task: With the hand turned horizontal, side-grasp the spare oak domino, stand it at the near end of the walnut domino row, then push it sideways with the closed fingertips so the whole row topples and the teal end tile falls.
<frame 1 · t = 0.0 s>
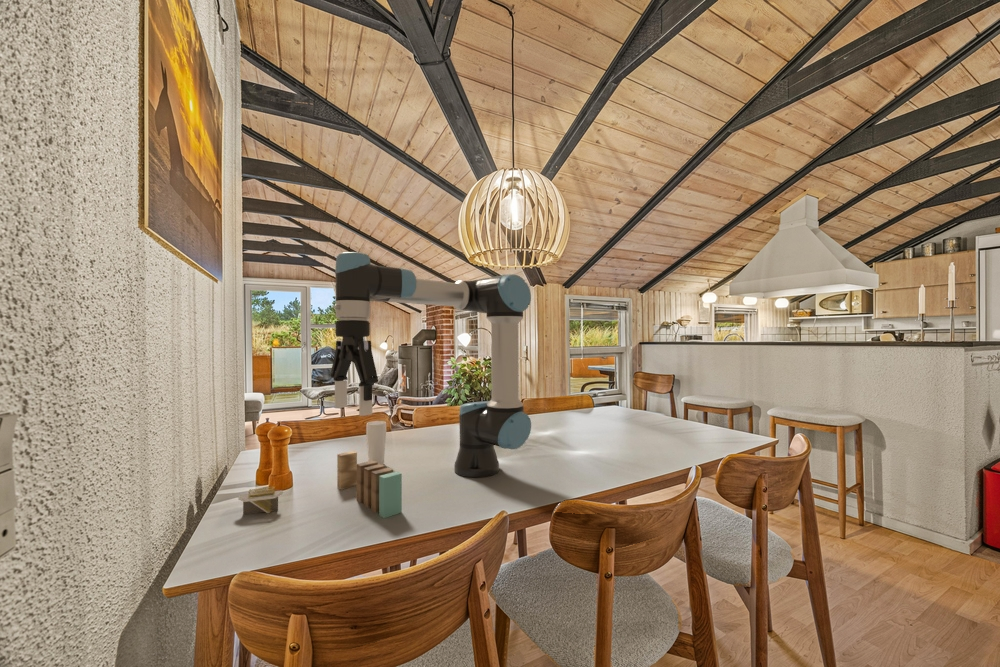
hand: (352, 411, 94), 28 cm above the table, tool pointing down, fingers open, 13 cm apart
domino 1: (347, 486, 123), on the table
domino 5: (390, 513, 104), on the table
platform: (260, 515, 104), on the table
domino 3: (374, 503, 110), on the table
domino 2: (367, 499, 113), on the table
domino 4: (382, 508, 107), on the table
drinking glass: (376, 465, 143), on the table
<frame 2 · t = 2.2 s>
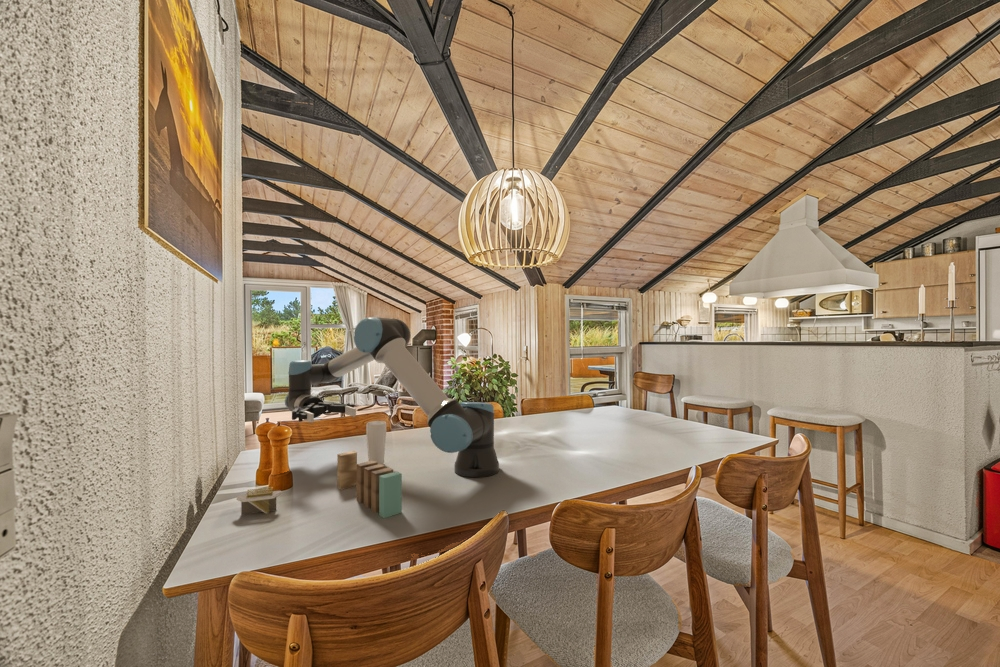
hand: (334, 415, 129), 20 cm above the table, tool horizontal, fingers open, 13 cm apart
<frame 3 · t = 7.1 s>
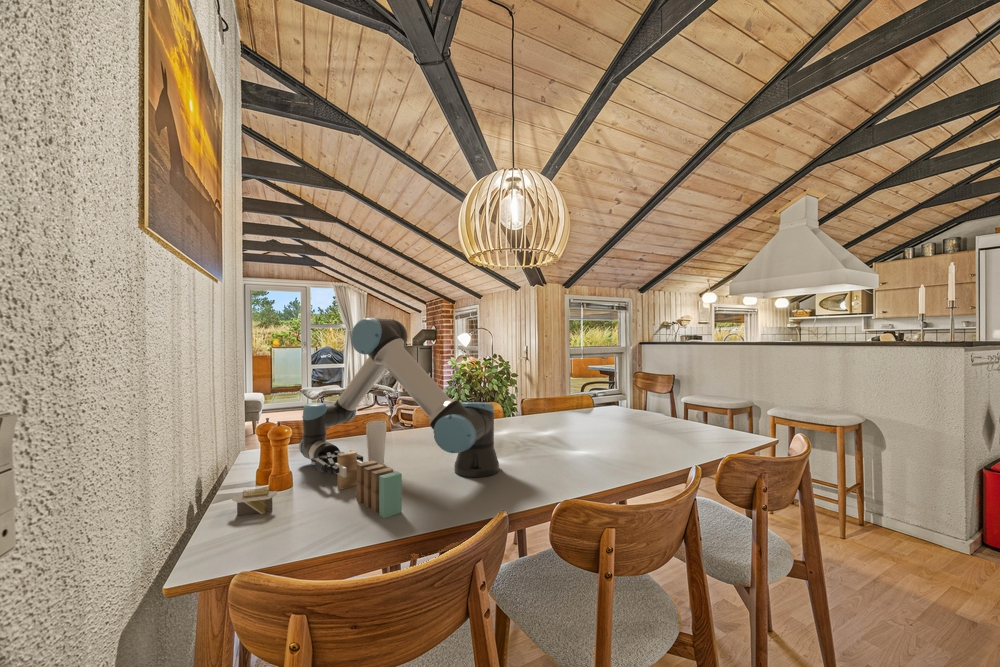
hand: (354, 470, 119), 6 cm above the table, tool horizontal, fingers closed on domino 1, 5 cm apart
domino 1: (347, 486, 123), on the table, touching gripper
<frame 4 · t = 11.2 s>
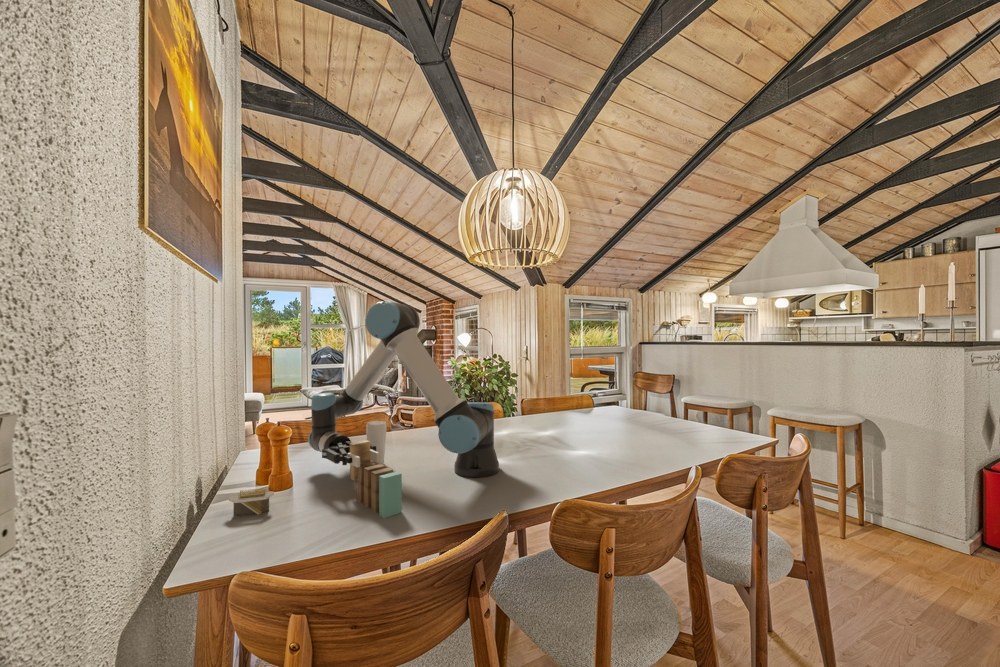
hand: (368, 459, 113), 11 cm above the table, tool horizontal, fingers closed on domino 1, 5 cm apart
domino 1: (360, 477, 116), point 5 cm above the table, touching gripper
domino 2: (367, 499, 113), on the table, touching gripper
when the fingers open (7 cm above the table, at t = 12.3 s): domino 1 stays where it is, on the table.
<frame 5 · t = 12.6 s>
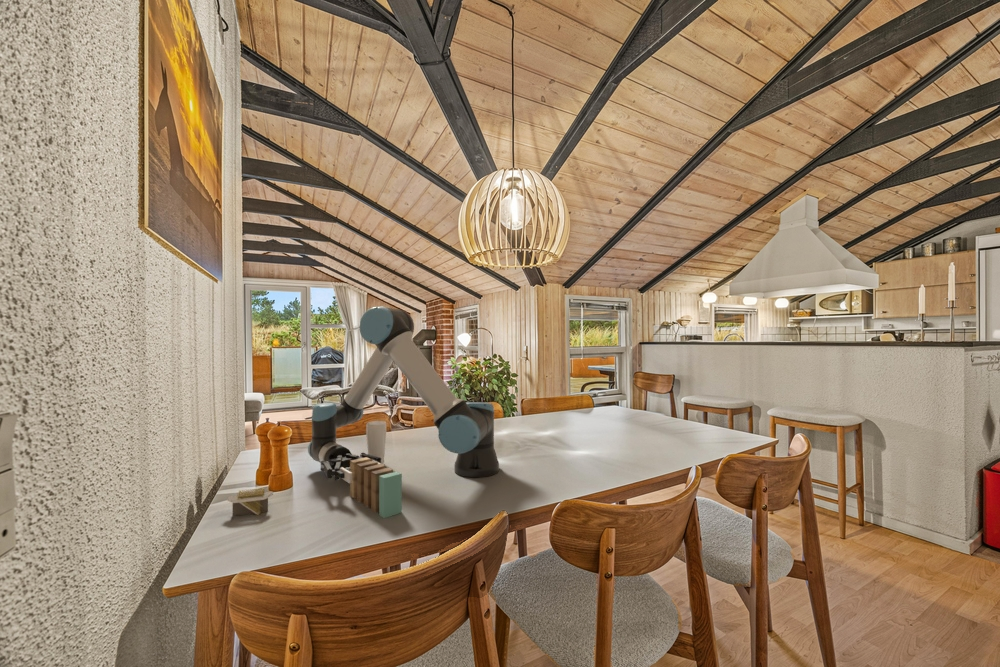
hand: (367, 473, 113), 7 cm above the table, tool horizontal, fingers open, 9 cm apart
domino 1: (360, 494, 116), on the table
domino 2: (367, 499, 113), on the table
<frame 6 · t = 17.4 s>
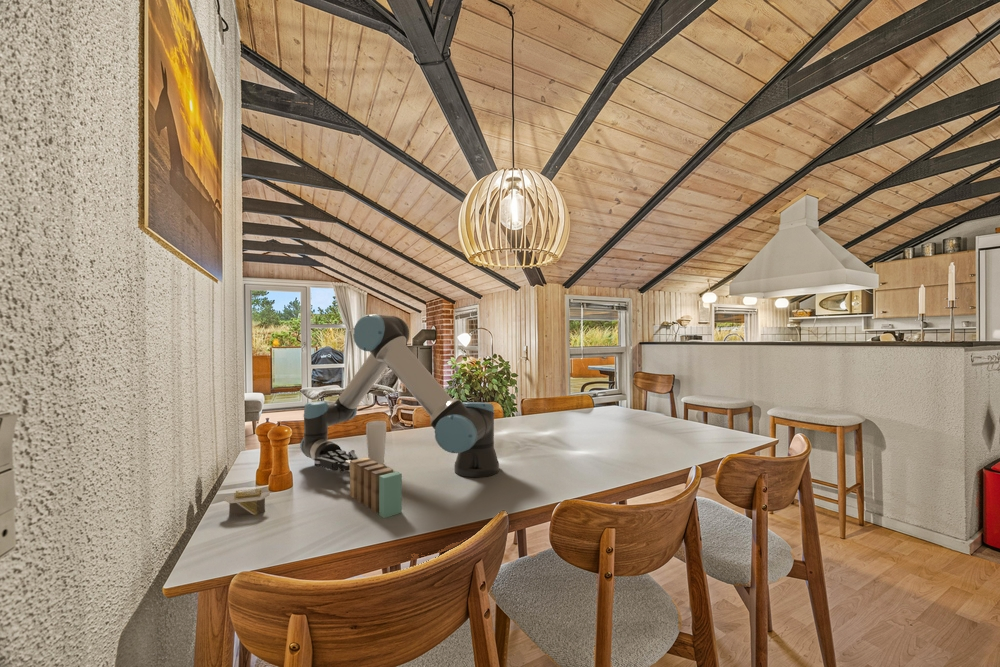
hand: (356, 469, 117), 7 cm above the table, tool horizontal, fingers closed
domino 1: (360, 494, 116), on the table, touching gripper
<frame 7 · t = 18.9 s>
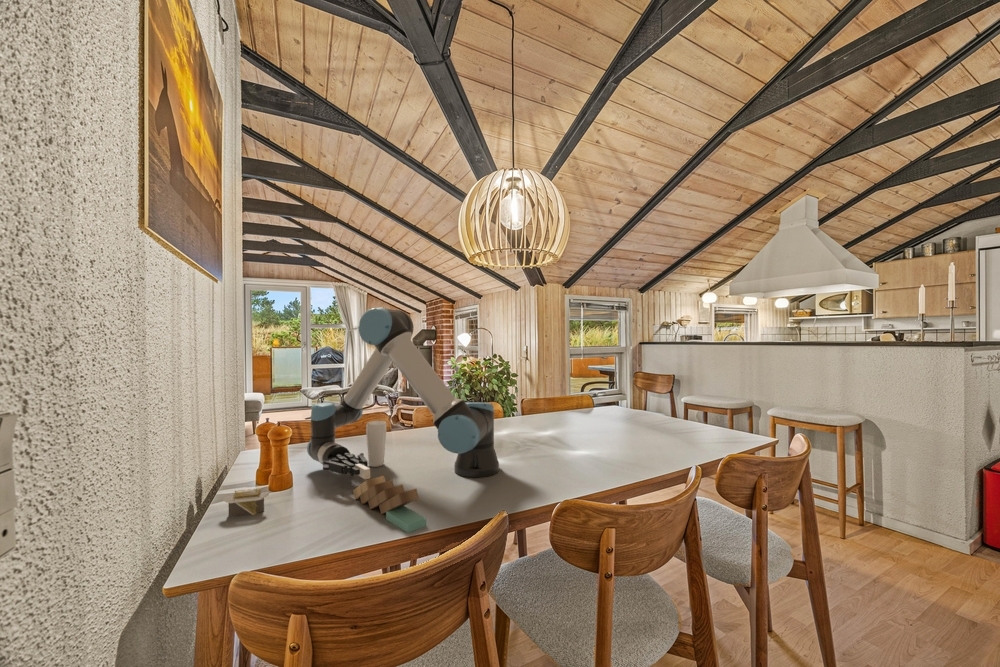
hand: (367, 474, 113), 7 cm above the table, tool horizontal, fingers closed
domino 1: (362, 492, 115), point 1 cm above the table, tilted 59°, touching domino 2
domino 5: (395, 513, 102), point 1 cm above the table, tilted 90°
domino 3: (377, 502, 108), point 1 cm above the table, tilted 59°, touching domino 2
domino 2: (369, 497, 112), point 1 cm above the table, tilted 59°, touching domino 1, domino 3
domino 4: (388, 506, 105), point 1 cm above the table, tilted 60°
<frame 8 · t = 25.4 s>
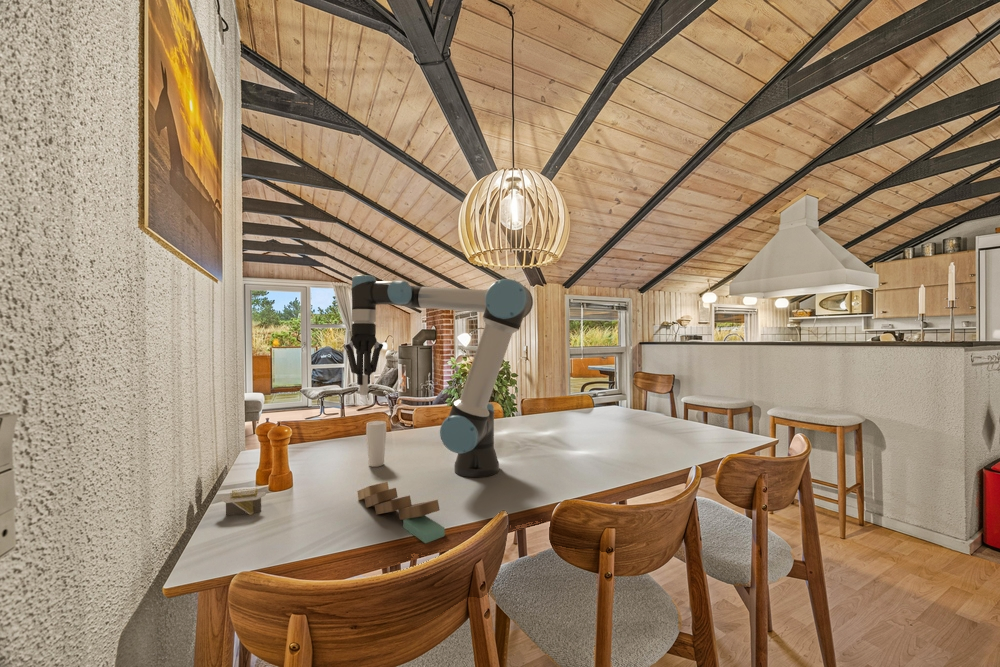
hand: (363, 394, 133), 26 cm above the table, tool pointing down, fingers closed
domino 1: (366, 493, 114), point 1 cm above the table, tilted 66°, touching domino 2
domino 5: (412, 521, 98), point 1 cm above the table, tilted 90°, touching domino 4
domino 3: (384, 506, 105), point 1 cm above the table, tilted 68°, touching domino 2
domino 2: (374, 500, 109), point 1 cm above the table, tilted 65°, touching domino 1, domino 3
domino 4: (407, 511, 101), point 2 cm above the table, tilted 68°, touching domino 5
at the end: domino 5 tilted 90°; domino 1 tilted 66°; domino 1 moved 12.4 cm from its start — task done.
